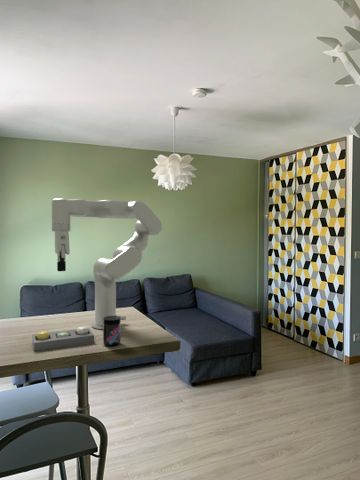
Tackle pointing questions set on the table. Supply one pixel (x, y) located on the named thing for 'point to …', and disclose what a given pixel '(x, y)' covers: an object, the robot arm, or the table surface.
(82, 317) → the table surface
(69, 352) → the table surface
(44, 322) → the table surface
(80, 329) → the white button
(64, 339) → the button panel
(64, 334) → the green button
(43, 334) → the mustard button
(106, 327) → the supplement container
